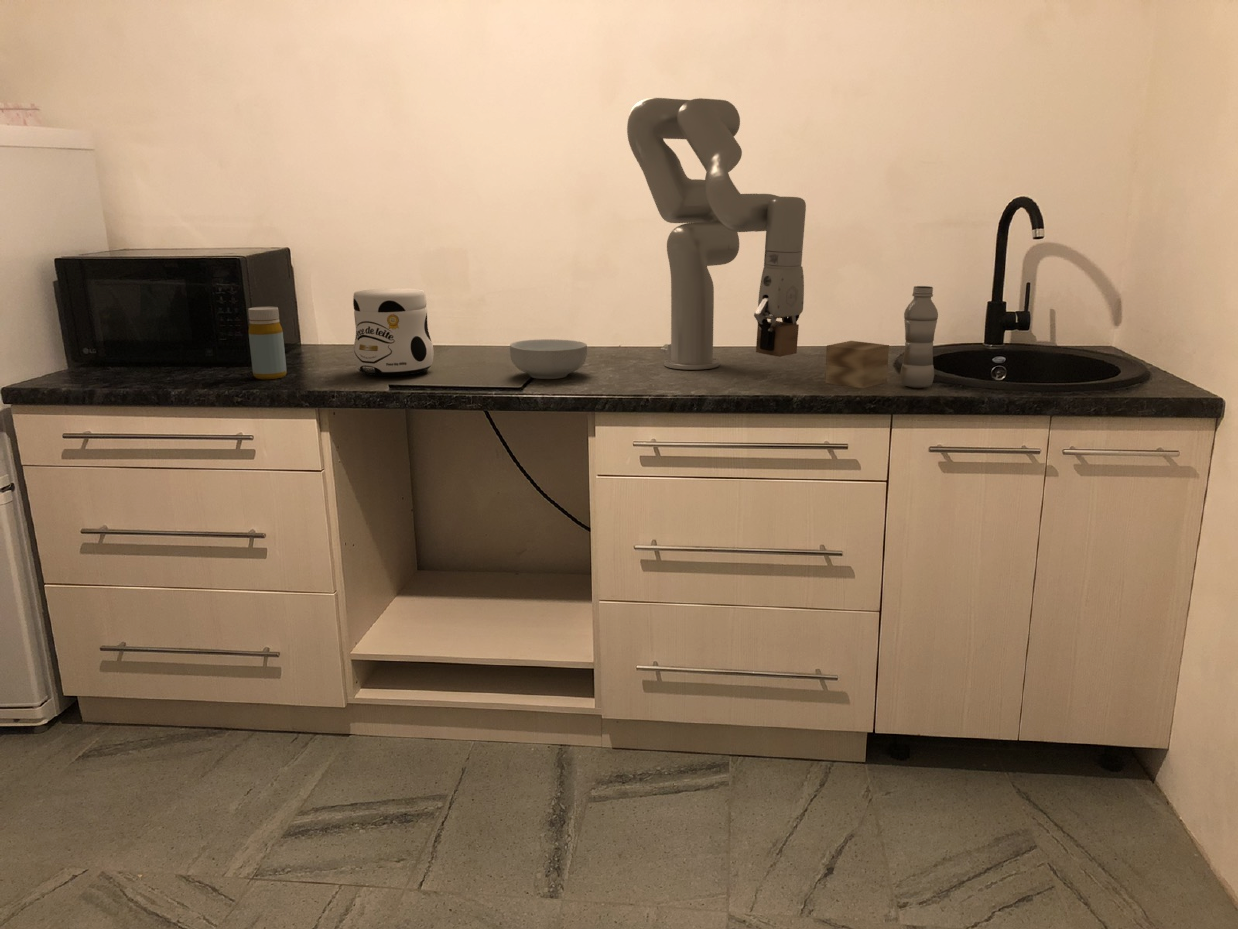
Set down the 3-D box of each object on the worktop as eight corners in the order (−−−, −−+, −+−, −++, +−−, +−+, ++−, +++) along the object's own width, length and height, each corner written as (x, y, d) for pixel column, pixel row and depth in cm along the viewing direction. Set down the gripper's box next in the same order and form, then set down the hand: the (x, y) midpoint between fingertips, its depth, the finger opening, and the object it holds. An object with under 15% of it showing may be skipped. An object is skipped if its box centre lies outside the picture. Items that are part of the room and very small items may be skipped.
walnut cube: (755, 352, 206) (757, 323, 204) (773, 348, 210) (775, 320, 208) (779, 356, 202) (781, 327, 200) (796, 353, 206) (798, 324, 204)
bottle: (293, 374, 219) (286, 306, 215) (273, 380, 213) (266, 310, 209) (267, 373, 222) (260, 305, 218) (246, 378, 215) (238, 309, 211)
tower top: (825, 364, 204) (826, 345, 203) (850, 359, 210) (851, 340, 209) (863, 370, 198) (864, 350, 197) (887, 364, 204) (888, 345, 203)
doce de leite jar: (351, 382, 211) (343, 296, 206) (359, 368, 227) (352, 288, 222) (433, 379, 213) (428, 294, 208) (435, 365, 230) (431, 286, 225)
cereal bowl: (578, 384, 206) (577, 350, 204) (501, 382, 209) (499, 349, 207) (594, 370, 222) (594, 338, 220) (523, 368, 225) (521, 337, 223)
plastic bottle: (916, 391, 195) (923, 289, 189) (892, 386, 200) (898, 286, 195) (940, 388, 197) (948, 287, 192) (916, 383, 203) (923, 284, 198)
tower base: (825, 383, 205) (826, 364, 204) (849, 377, 211) (850, 359, 210) (863, 389, 199) (864, 370, 198) (886, 383, 205) (888, 364, 204)
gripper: (772, 264, 192) (766, 355, 197) (822, 258, 203) (815, 345, 209) (741, 260, 197) (736, 350, 202) (792, 255, 208) (786, 340, 214)
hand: (776, 346), depth 205 cm, fingers closed on walnut cube, 6 cm apart
